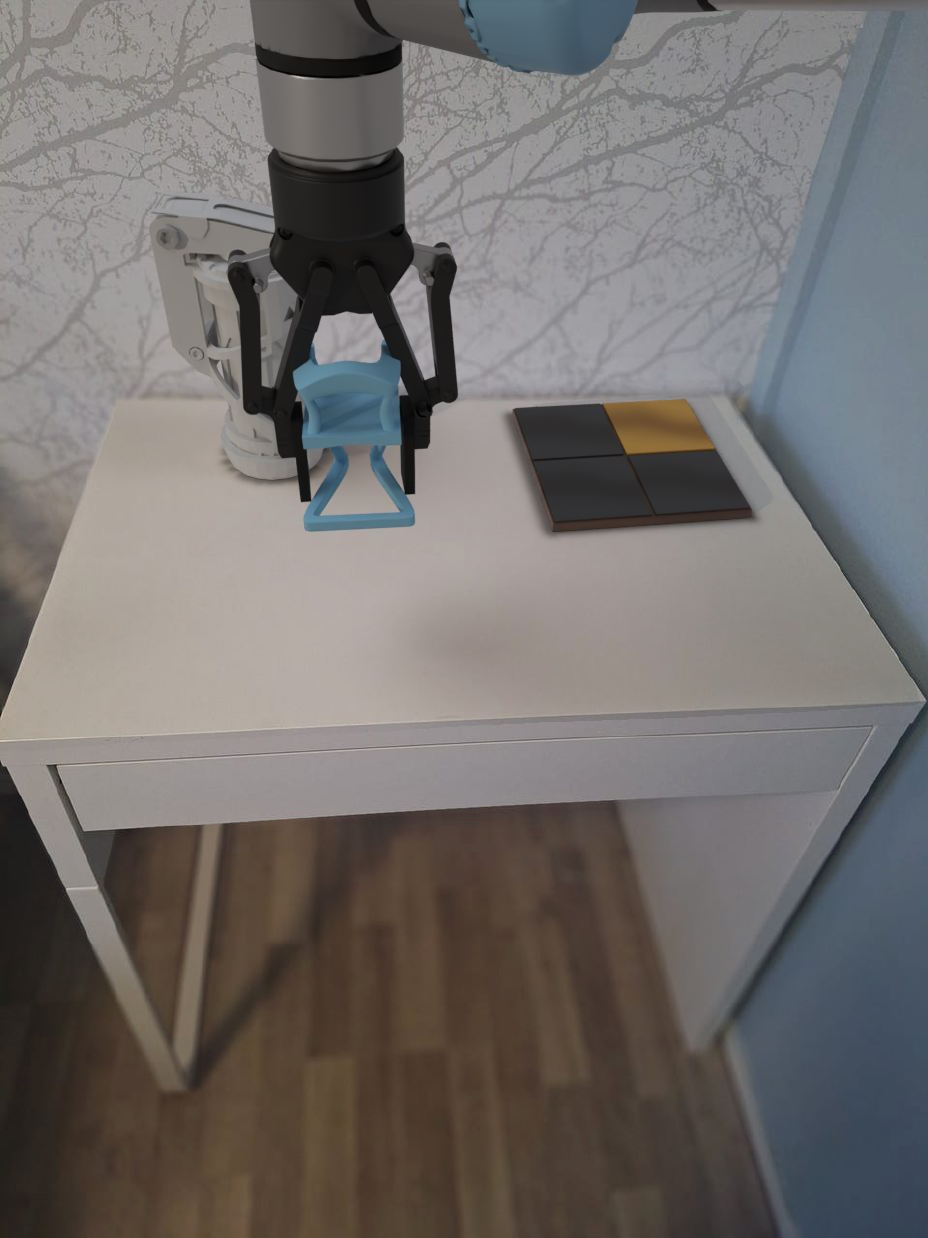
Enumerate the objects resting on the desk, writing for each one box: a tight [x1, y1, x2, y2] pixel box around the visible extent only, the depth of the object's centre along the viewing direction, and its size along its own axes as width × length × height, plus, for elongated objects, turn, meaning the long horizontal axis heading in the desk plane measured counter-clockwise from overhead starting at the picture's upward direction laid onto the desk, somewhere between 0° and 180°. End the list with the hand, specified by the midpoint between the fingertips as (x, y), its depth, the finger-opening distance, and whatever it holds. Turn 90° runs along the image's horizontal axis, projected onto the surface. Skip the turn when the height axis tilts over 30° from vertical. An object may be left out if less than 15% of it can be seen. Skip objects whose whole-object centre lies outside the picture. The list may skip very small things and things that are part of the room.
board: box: [511, 398, 753, 532], centre depth 96 cm, size 20×20×1 cm
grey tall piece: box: [148, 189, 324, 481], centre depth 86 cm, size 13×10×25 cm
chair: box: [293, 338, 416, 533], centre depth 63 cm, size 8×8×12 cm
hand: (357, 486), depth 67 cm, fingers closed on chair, 7 cm apart
